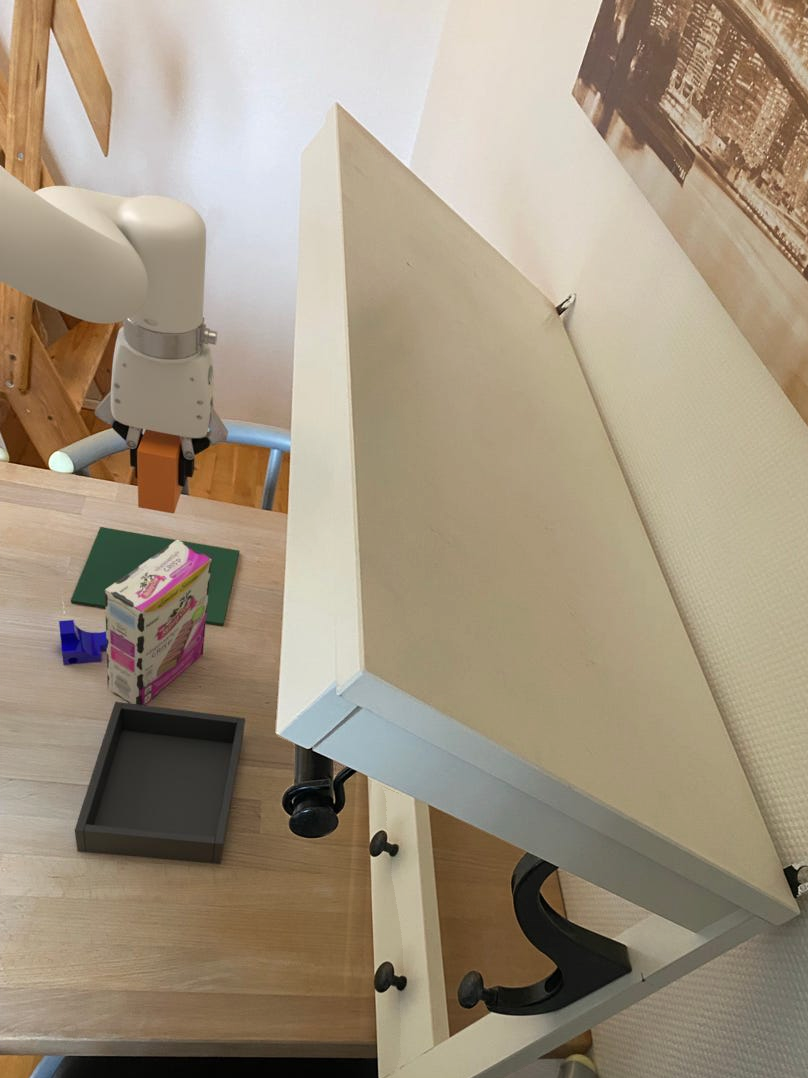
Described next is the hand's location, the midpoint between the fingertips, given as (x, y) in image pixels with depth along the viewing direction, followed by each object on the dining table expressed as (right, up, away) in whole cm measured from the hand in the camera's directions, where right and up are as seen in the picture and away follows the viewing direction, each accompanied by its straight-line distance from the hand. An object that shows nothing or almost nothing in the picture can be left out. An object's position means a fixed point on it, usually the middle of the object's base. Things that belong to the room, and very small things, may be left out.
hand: (162, 474), depth 98 cm
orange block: (-1, -2, +2) cm, 3 cm away
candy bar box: (-1, -23, +1) cm, 23 cm away
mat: (-5, -11, +12) cm, 17 cm away
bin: (+4, -36, -9) cm, 37 cm away
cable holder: (-8, -21, +1) cm, 22 cm away
